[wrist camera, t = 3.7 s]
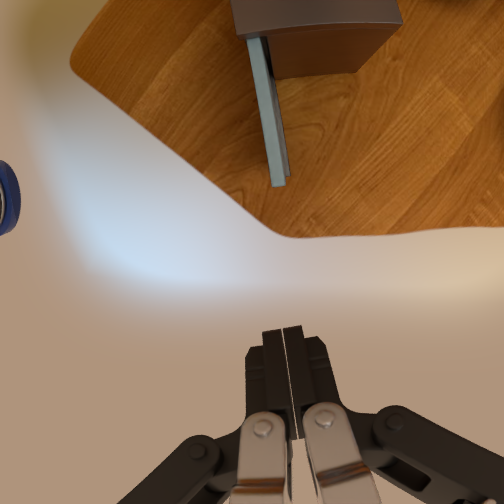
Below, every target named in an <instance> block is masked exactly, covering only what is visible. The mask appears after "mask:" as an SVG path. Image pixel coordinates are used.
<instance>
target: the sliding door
mask: <svg viewBox="0 0 504 504" xmlns="http://www.w3.org/2000/svg"><path fill="white" fill-rule="evenodd" d="M245 42H246V45H247V47H248V51H249V56H250V62H251V67H252V72H253V78H254V83H255V89H256V94H257V100H258V106H259V112H260V117H261V123H262V129H263V135H264V141H265V147H266V153H267V159H268V165H269V171H270V178H271V184H272V187H279V186H285V185H286V170H285V164H284V158H283V151H282V145H281V139H280V133H279V127H278V121H277V115H276V109H275V104H274V98H273V93H272V87H271V82H270V76H269V71H268V66H267V61H266V56H265V51H264V47H263V43H262V38H261V37H255V38H249V39H245Z"/></svg>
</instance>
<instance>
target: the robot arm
mask: <svg viewBox="0 0 504 504" xmlns="http://www.w3.org/2000/svg"><path fill="white" fill-rule="evenodd" d="M6 207H7V202H6V193H5V189H4V186H3V183H2V181H1V179H0V226H1V225H2V223H3V221H4V219H5V215H6ZM283 334H284V341H285V348H286V355H287V361H286V355H285V349H284V343H283V337H282V331H281V329H277V330H270V331H264V332H262V337H263V345H262V346H255V347H250V349H249V351H248V353H247V355H246V357H245V370H246V371H245V378H246V417H245V420H244V422H243V423H242V425H241V426H240V427H239V428H238V429H237V430H236V431H234V432H232V433H230V434H228V435H225V436H222V437H220V438H217V439H213V438H211V437H209V436H206V435H195V436H192V437H189V438H188V439H186V440H185V441H183V442H182V443H181V444H180V445H179V446H178V447H177V448H176V449H175V450H174V451H173V452H172V453H171V454H170V455H169V456H168V457H167V458H166V459H165V460H164V461H163V462H162V463H161V464H160V465H159V466H158V467H157V468H156V469H154V470H153V472H151V473H150V474H149V475H148V476H147V477H146V478H145V479H144V480H143V481H142V482H141V483H139V484H138V485H137V486H136V487H135V488H134V489H133V490H132V491H131V492H129V493H128V494H127V495H126V496H125V497H124V498H123V499H122V500H120V501H119V502H118V503H117V504H223V503H224V502H225V500H226V499H227V498H228V497H229V496H230V500H229V504H293V468H292V458H293V450H292V441H291V440H296V439H297V434H296V427H295V419H294V412H293V404H294V411H295V417H296V423H297V429H298V435H299V439H302V438H305V445H306V451H307V458H308V463H309V467H310V472H311V476H312V480H313V484H314V488H315V493H316V497H317V502H318V504H382V503H381V500H380V497H379V494H378V490H377V488H376V485H375V482H374V479H373V476H372V473H371V471H373V472H374V473H376V474H377V475H379V476H381V477H382V478H384V479H386V480H387V481H389V482H390V483H392V484H394V485H395V486H397V487H398V488H400V489H402V490H404V491H405V492H407V493H409V494H411V495H412V496H414V497H416V498H417V499H419V500H421V501H423V502H424V503H426V504H504V457H502V456H500V455H498V454H496V453H493V452H491V451H489V450H487V449H485V448H483V447H481V446H479V445H477V444H475V443H473V442H471V441H469V440H467V439H465V438H462V437H461V436H459V435H457V434H455V433H453V432H451V431H449V430H447V429H445V428H443V427H441V426H439V425H437V424H435V423H433V422H432V421H430V420H428V419H426V418H424V417H422V416H420V415H418V414H416V413H415V412H413V411H411V410H409V409H407V408H405V407H403V406H398V405H392V406H388V407H385V408H383V409H381V410H380V411H379V412H378V413H377V414H369V413H357V412H353V411H351V410H349V409H347V408H346V407H345V406H344V405H343V404H342V402H341V401H340V398H339V394H338V390H337V386H336V383H335V379H334V375H333V371H332V367H331V364H330V360H329V357H328V353H327V349H326V345H325V344H324V343H323V342H322V341H321V340H320V339H319V337H318V336H315V337H309V338H304V335H303V330H302V326H301V325H300V326H294V327H288V328H283ZM287 362H288V368H289V375H288V368H287ZM289 376H290V382H289ZM290 383H291V389H292V397H293V404H292V397H291V389H290ZM370 470H371V471H370Z"/></svg>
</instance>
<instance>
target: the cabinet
mask: <svg viewBox="0 0 504 504" xmlns="http://www.w3.org/2000/svg"><path fill="white" fill-rule="evenodd" d="M230 4H231V9H232V14H233V19H234V25H235V30H236V35H237V37H238V39H239V40H244V39H249V38H255V37H261V38H262V43H263V47H264V51H265V56H266V61H267V66H268V71H269V76H270V82H271V87H272V93H273V98H274V104H275V109H276V115H277V121H278V127H279V133H280V139H281V145H282V151H283V158H284V164H285V170H286V177H288V176H291V174H290V168H289V161H288V155H287V149H286V142H285V136H284V130H283V124H282V118H281V113H280V107H279V101H278V96H277V90H276V85H275V80H280V79H288V78H296V77H305V76H314V75H325V74H338V73H355V72H357V71H358V70H359V69H360V68H361V66H362V65H363V64H364V63H365V62H366V61H367V60H368V59H369V58H370V57H371V56H372V55H373V54H374V53H375V52H376V51H377V50H378V49H379V48H380V47H381V46H382V45H383V44H384V43H385V42H386V41H387V40H388V39H389V38H390V37H391V36H392V35H393V34H394V33H395V32H396V31H397V30H398V29H399V28H400V27H401V26H402V25H403V21H402V17H401V14H400V11H399V8H398V5H397V2H396V0H230Z"/></svg>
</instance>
